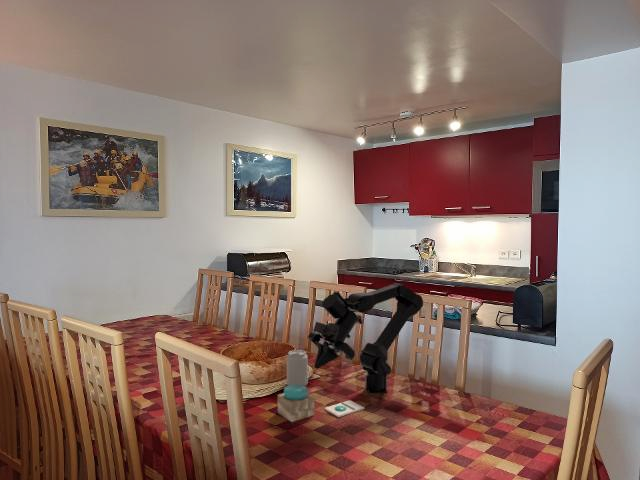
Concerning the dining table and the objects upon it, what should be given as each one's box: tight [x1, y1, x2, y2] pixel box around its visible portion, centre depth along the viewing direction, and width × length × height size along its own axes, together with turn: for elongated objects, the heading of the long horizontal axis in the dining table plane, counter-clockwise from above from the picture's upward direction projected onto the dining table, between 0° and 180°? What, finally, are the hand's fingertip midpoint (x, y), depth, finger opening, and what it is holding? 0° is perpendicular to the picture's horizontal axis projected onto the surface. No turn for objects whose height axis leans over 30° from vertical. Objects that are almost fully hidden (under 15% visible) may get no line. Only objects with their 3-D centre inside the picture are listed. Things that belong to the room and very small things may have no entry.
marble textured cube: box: [277, 392, 315, 423], centre depth 138 cm, size 8×8×6 cm
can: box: [286, 349, 309, 387], centre depth 162 cm, size 8×8×12 cm
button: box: [283, 385, 308, 400], centre depth 138 cm, size 7×7×5 cm
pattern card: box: [324, 399, 365, 418], centre depth 141 cm, size 10×7×1 cm
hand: (315, 367), depth 141 cm, fingers closed
